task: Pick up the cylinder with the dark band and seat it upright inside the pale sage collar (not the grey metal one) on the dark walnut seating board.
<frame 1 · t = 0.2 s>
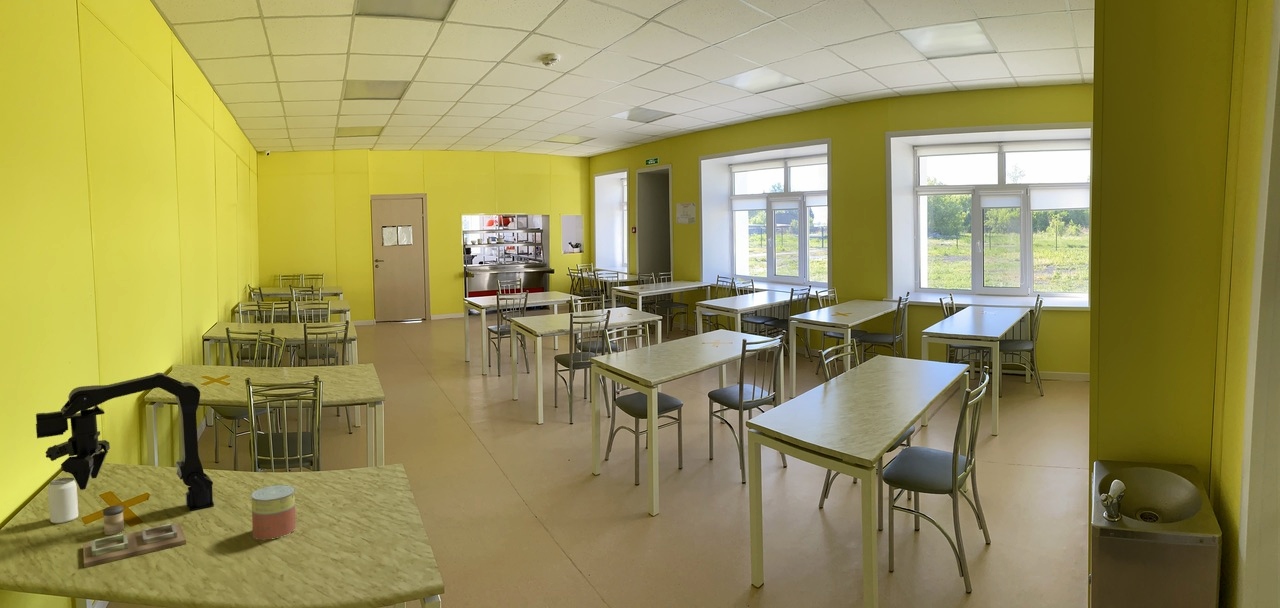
hand: (88, 483, 193), 14 cm above the table, fingers open, 9 cm apart
board: (135, 545, 186), on the table
cylinder: (114, 531, 194), on the table
canned food: (274, 532, 197), on the table
can: (64, 520, 201), on the table
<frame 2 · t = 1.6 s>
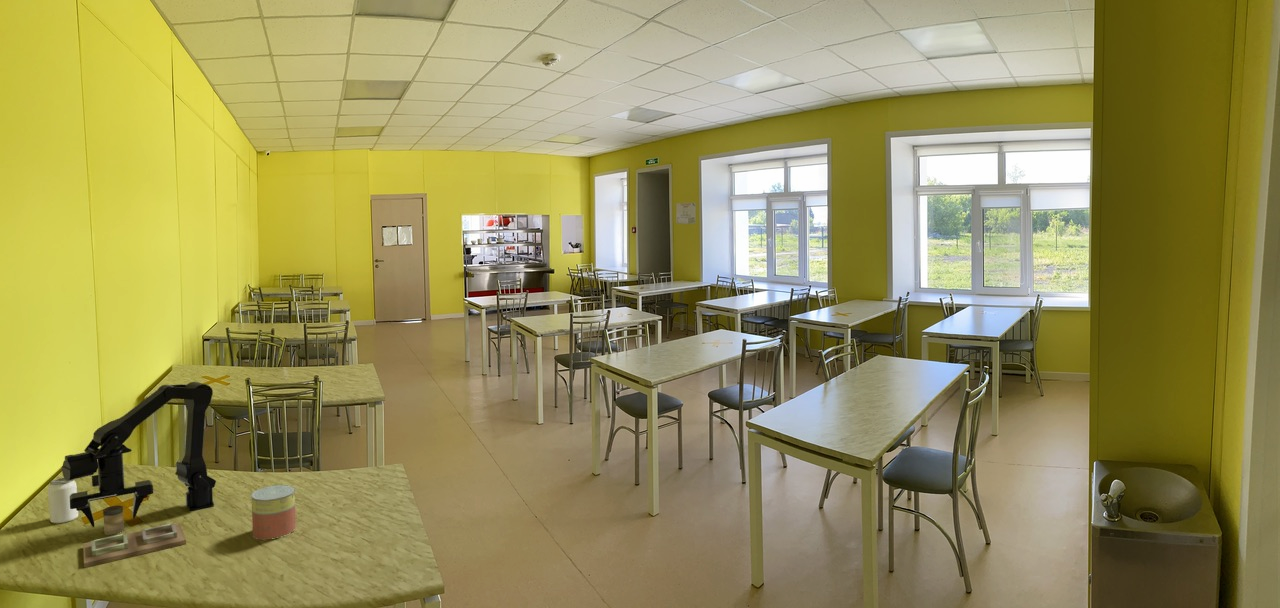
hand: (114, 522, 193), 3 cm above the table, fingers open, 9 cm apart
nothing on the table moved.
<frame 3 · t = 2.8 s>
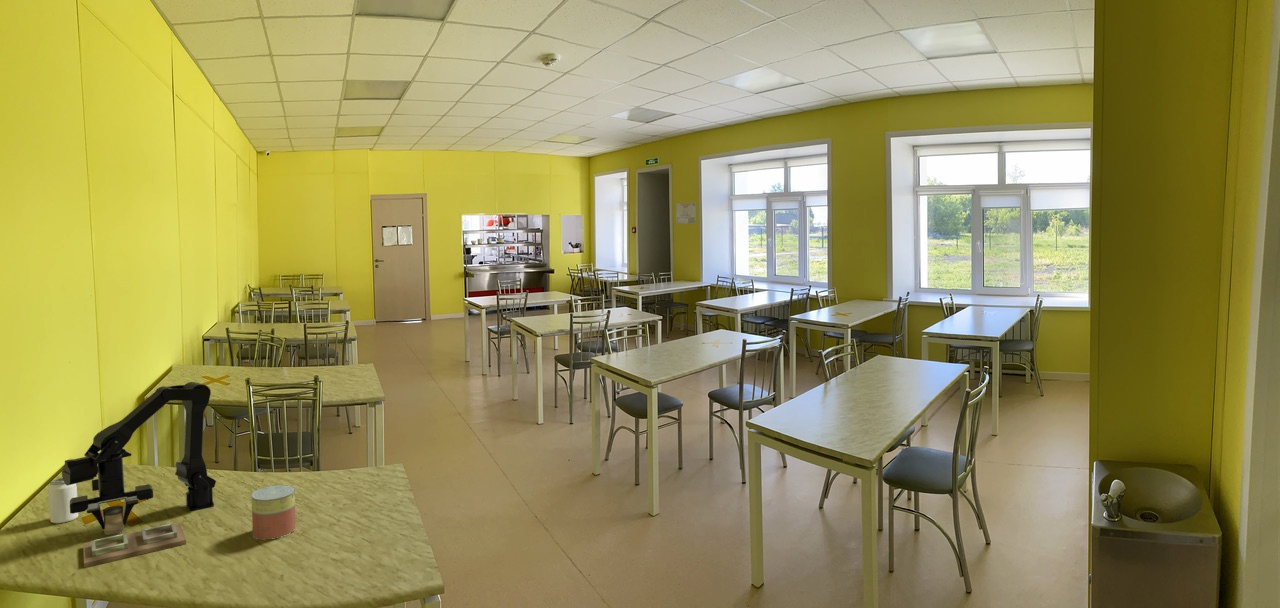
hand: (114, 526, 194), 2 cm above the table, fingers closed on cylinder, 4 cm apart
cylinder: (114, 531, 194), on the table, touching gripper
everything else where it was.
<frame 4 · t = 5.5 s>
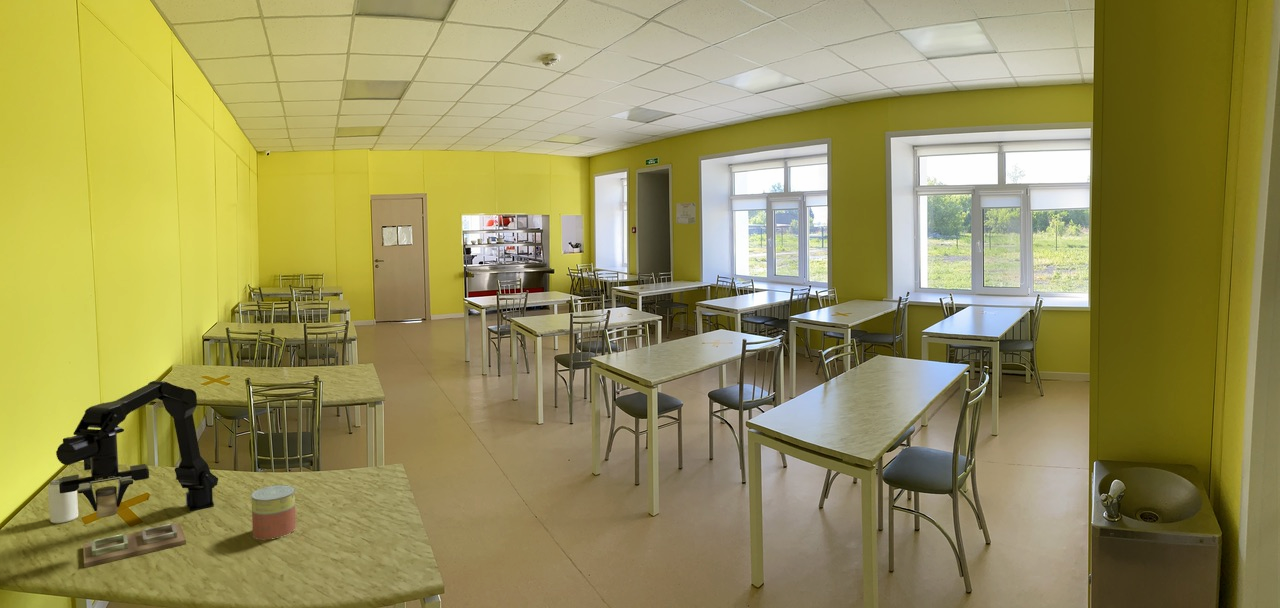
hand: (107, 508, 181), 12 cm above the table, fingers closed on cylinder, 4 cm apart
cylinder: (107, 514, 181), point 11 cm above the table, touching gripper
everything else where it was.
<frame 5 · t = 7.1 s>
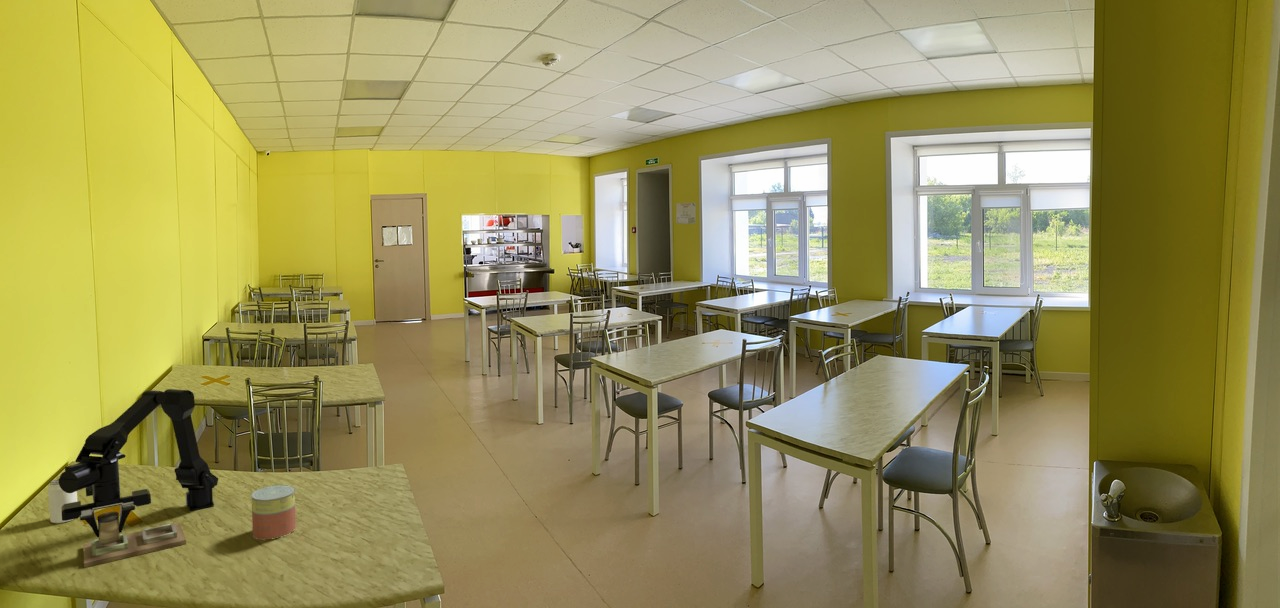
hand: (109, 534, 182), 5 cm above the table, fingers closed on cylinder, 4 cm apart
cylinder: (109, 539, 182), point 3 cm above the table, touching gripper
everything else where it was.
when the fingers open (3 cm above the table, at t = 8.3 s): cylinder stays where it is, resting on board.
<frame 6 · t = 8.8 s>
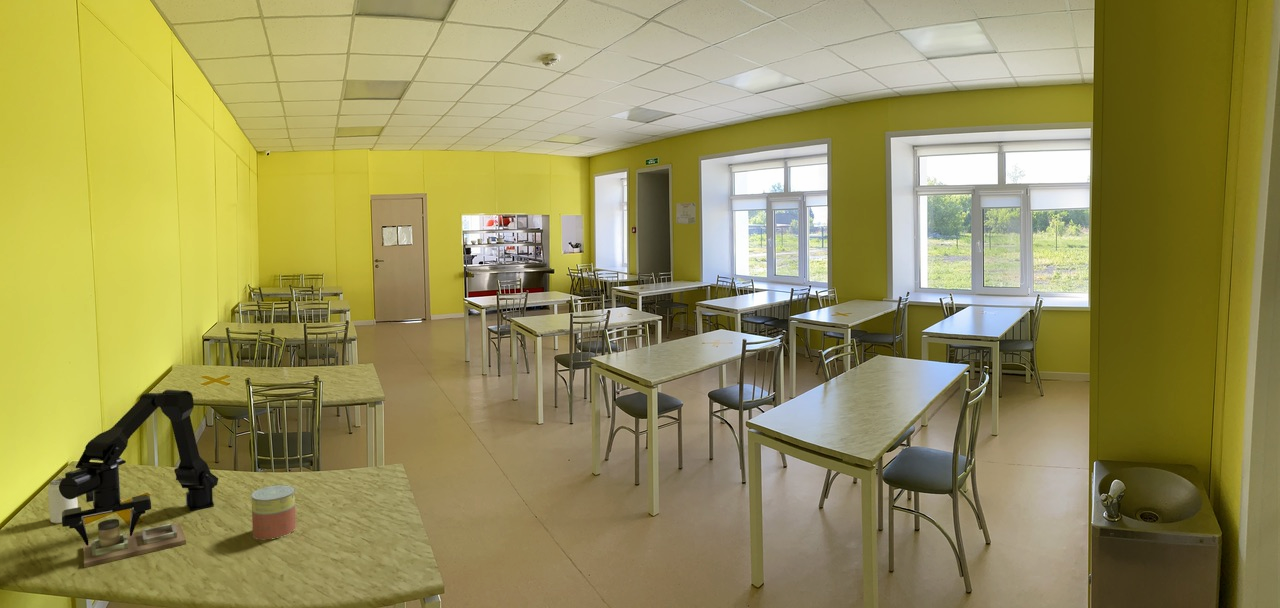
hand: (109, 540, 182), 3 cm above the table, fingers open, 9 cm apart
cylinder: (110, 547, 182), point 1 cm above the table, touching board
everything else where it was.
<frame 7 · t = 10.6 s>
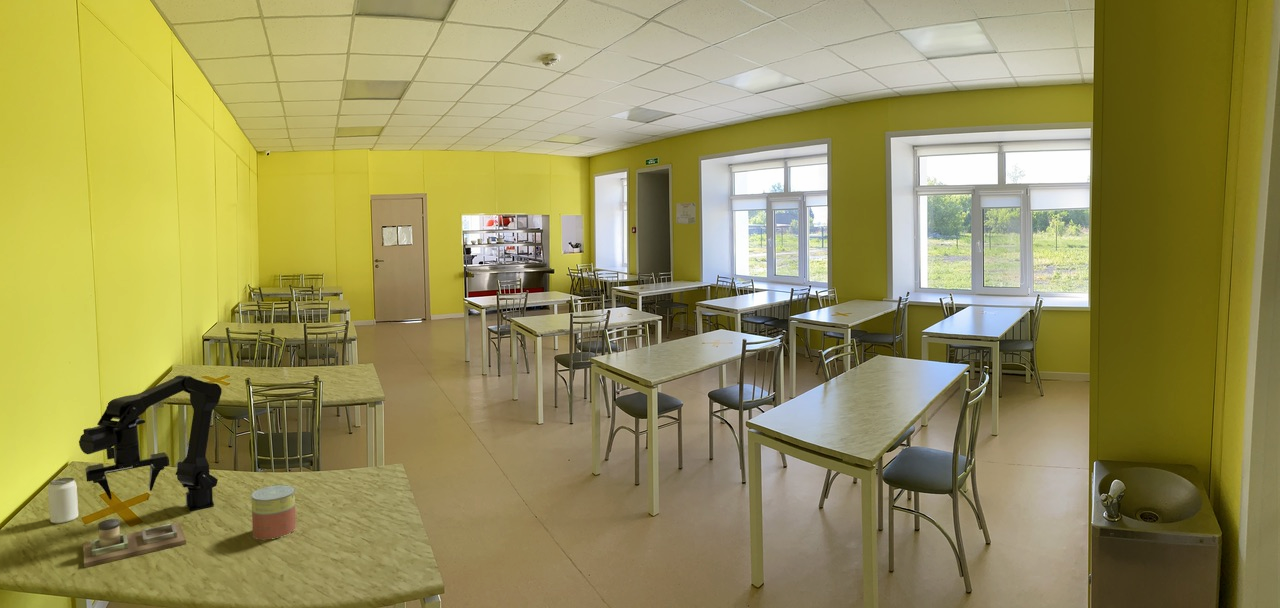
hand: (130, 494, 192), 11 cm above the table, fingers open, 9 cm apart
nothing on the table moved.
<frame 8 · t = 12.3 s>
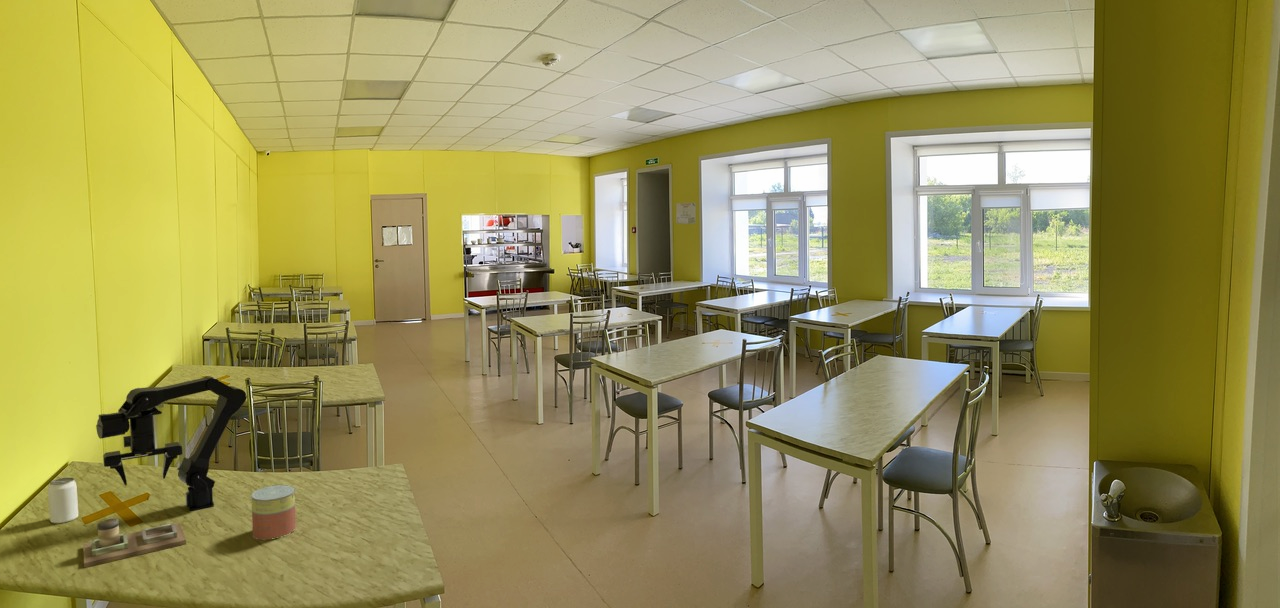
hand: (145, 481, 201), 12 cm above the table, fingers open, 9 cm apart
nothing on the table moved.
at the end: cylinder 0.0 cm from the target spot on the board, point 1.2 cm above the board's base; cylinder tilted 1°; the gripper is holding nothing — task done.
